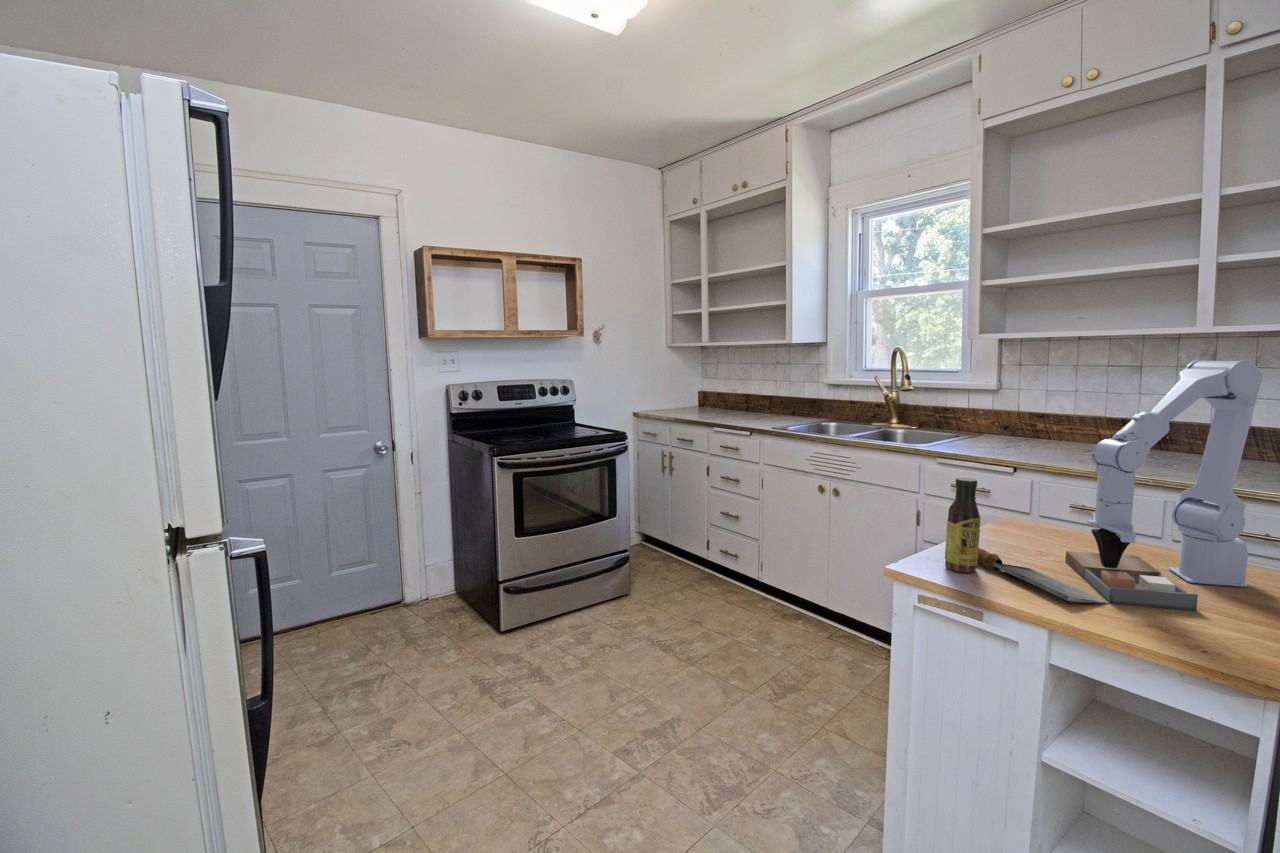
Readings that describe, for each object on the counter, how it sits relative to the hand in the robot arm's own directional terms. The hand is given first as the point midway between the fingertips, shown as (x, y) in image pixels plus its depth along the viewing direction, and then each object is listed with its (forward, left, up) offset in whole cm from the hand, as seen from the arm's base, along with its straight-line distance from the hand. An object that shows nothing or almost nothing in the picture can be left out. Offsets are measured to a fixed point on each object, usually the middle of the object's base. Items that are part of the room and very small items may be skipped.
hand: (1109, 566), depth 120 cm
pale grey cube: (-6, +5, 0) cm, 8 cm away
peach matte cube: (0, +4, 0) cm, 4 cm away
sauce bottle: (+26, -2, -4) cm, 26 cm away
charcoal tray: (-3, +4, -4) cm, 6 cm away
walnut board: (-3, -7, -4) cm, 9 cm away
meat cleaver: (+15, -3, -4) cm, 16 cm away
